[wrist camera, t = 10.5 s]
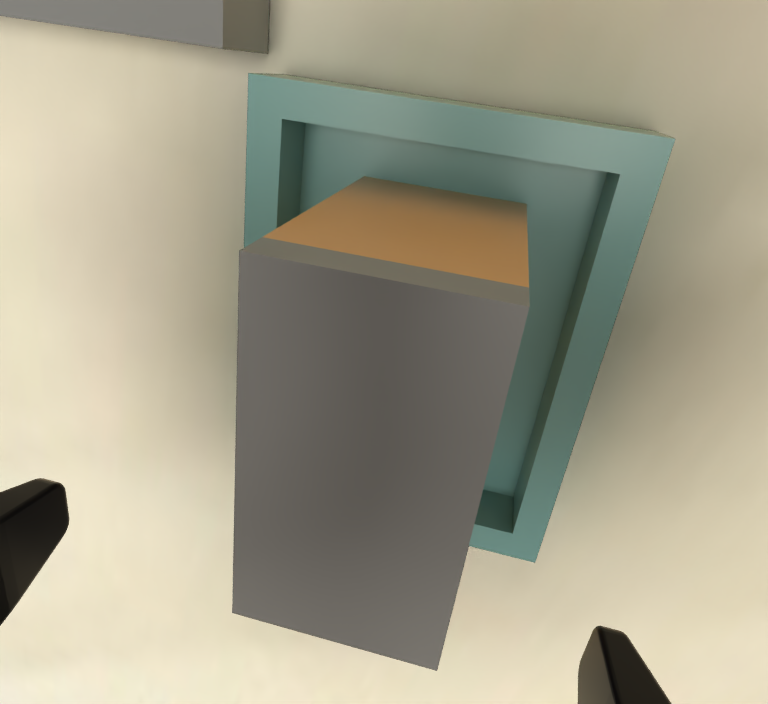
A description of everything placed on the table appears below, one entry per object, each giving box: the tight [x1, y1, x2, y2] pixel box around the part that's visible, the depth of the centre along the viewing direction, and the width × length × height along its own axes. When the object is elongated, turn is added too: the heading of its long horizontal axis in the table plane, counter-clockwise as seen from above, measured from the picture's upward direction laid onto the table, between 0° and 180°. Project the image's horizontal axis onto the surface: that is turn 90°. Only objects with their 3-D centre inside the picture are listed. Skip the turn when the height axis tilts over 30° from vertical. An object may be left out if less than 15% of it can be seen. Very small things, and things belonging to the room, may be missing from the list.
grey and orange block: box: [232, 176, 530, 671], centre depth 16 cm, size 5×9×9 cm, turn 173°
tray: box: [244, 73, 675, 563], centre depth 19 cm, size 11×14×2 cm
